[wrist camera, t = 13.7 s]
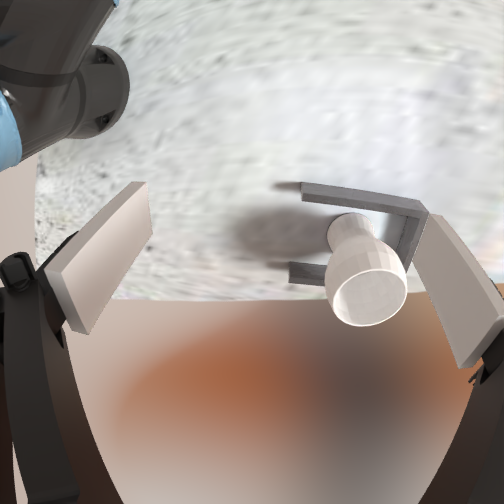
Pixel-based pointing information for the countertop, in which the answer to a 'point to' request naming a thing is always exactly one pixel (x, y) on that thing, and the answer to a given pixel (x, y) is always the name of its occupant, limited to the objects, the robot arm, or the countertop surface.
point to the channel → (368, 201)
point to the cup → (362, 273)
